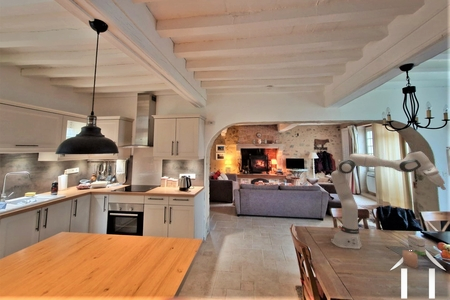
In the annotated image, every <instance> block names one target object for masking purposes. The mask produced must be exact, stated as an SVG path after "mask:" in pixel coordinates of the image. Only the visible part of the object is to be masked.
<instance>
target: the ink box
mask: <svg viewBox="0 0 450 300" xmlns="http://www.w3.org/2000/svg"><path fill="white" fill-rule="evenodd" d="M407 244H408V245H407V246H408V247H407V248H408V250H410V251H411V250H412V252H415V253H416V254H418V255H420V256H427V251H426V243H425V238H422V237H419V236H417V235H415V234H407Z"/></svg>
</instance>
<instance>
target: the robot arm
mask: <svg viewBox="0 0 450 300" xmlns="http://www.w3.org/2000/svg"><path fill="white" fill-rule="evenodd" d="M356 167H363V168H377V167H382V168H391V169H393V170H396V171H398V172H401V173H403V172H404V173H412V172H414V171H416V170H418V172H419V173H420V174H421V176H425V177H426V178H427V179H428V180H429V181H430V182H432V183H434V184H435V185H436V187H438V188H440V189H441V190H443V191H444V190H447V188H446V186H445V183H446V182H445V180H444V179H443V177H442V176H441V175H440V171H439V170H438V168H437V167H436V165H435V164H434V163H432V162H431V161H430V159H429V157H428V156H427V155H426V154H425V153H424V152H422V151H421V150H415V151H411V152H408V153H407V154H406V156H405V157H404V158H403V159H396V160H390V159H383V158H380V157H377V156H376V155H372V154H369V153H351V154H349V156H348V159H347V160H342V161H340V162H339V163H338V164H337V167H336V170H334V171H332V172H331V174H330V176H331V180H332V184H333V186H334V190H335V191H336V194H337V196H338V200H339V201H340V204H341V217H342V220H341V221H342V225H338V227H337V228H338V229H340V230H339V231H337V232H336V233H334V235H333V238H330V242H331V243H332V244H333V245H334V246H336V247H338V248H344V249H355V250H360V249H361V248H362V247H363V245H362V243H361V238H360V228H359V222H358V221H359V220H358V216H359V212H358V210H359V209H358V203H356V199H355V198H354V195H353V191H352V189H351V187H350V185H349V183H348V180H347V176H346V175H347V174H350V173H352V172H353V171H354V170H355V168H356Z"/></svg>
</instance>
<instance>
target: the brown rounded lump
mask: <svg viewBox="0 0 450 300" xmlns="http://www.w3.org/2000/svg"><path fill="white" fill-rule="evenodd" d="M402 252H403V256H402V260H403V261H402V262H403V264H404V265H405V266H407V267H410V268H415V269H416V268H419V263H418V259H419V258H417V253H415V252H413V251H411V250H410V251H409V249H408V250H403V251H402Z"/></svg>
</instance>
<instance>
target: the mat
mask: <svg viewBox="0 0 450 300" xmlns="http://www.w3.org/2000/svg"><path fill="white" fill-rule="evenodd" d="M386 248H387V249H389V250H391V251H392V252H394V253H396V254H398V255H399V256H401V257H403V252H402V251H403V250H409V248H406V247H404V246H386ZM416 254H417V253H416ZM417 259H425V257H424V256H423V255H419V254H417Z"/></svg>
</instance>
